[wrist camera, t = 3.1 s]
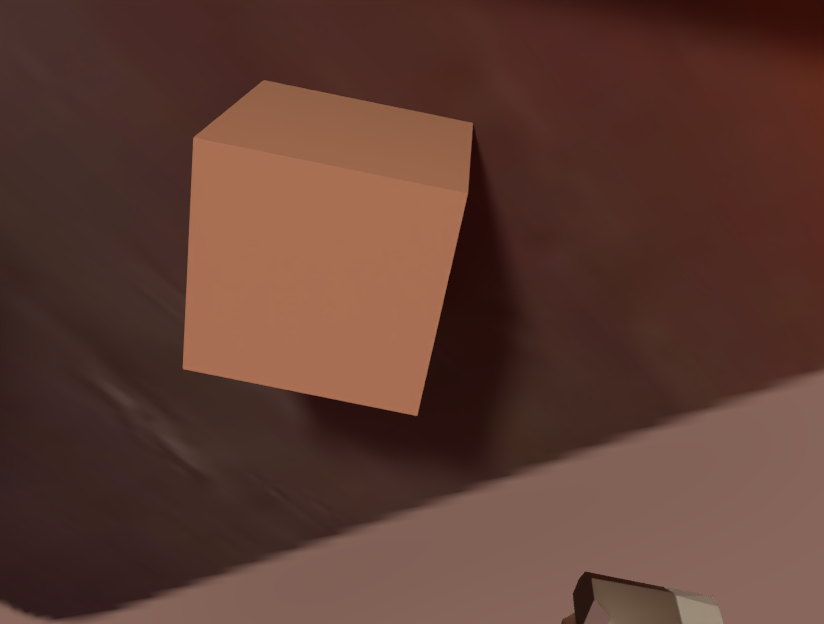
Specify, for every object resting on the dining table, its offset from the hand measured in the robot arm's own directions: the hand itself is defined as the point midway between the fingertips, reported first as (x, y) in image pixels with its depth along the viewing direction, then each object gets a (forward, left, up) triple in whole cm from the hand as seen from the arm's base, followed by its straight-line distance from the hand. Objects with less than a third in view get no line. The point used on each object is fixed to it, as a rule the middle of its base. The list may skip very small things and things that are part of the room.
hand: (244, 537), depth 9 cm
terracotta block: (0, 0, -12) cm, 12 cm away
